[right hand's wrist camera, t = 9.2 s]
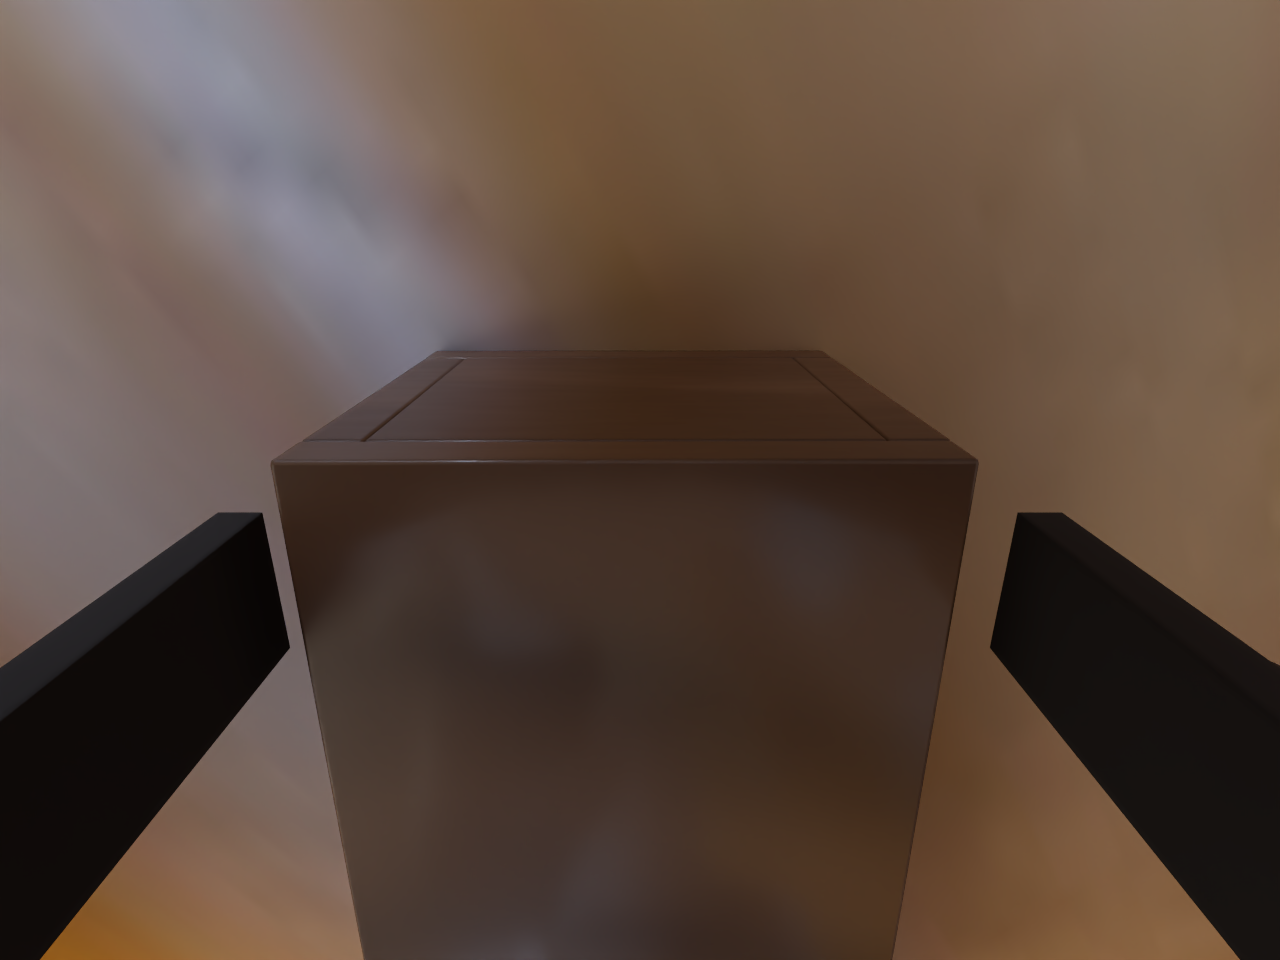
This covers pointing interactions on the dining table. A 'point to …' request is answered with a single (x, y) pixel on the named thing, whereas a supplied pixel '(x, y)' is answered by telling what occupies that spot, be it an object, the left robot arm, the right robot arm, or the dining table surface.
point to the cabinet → (626, 651)
